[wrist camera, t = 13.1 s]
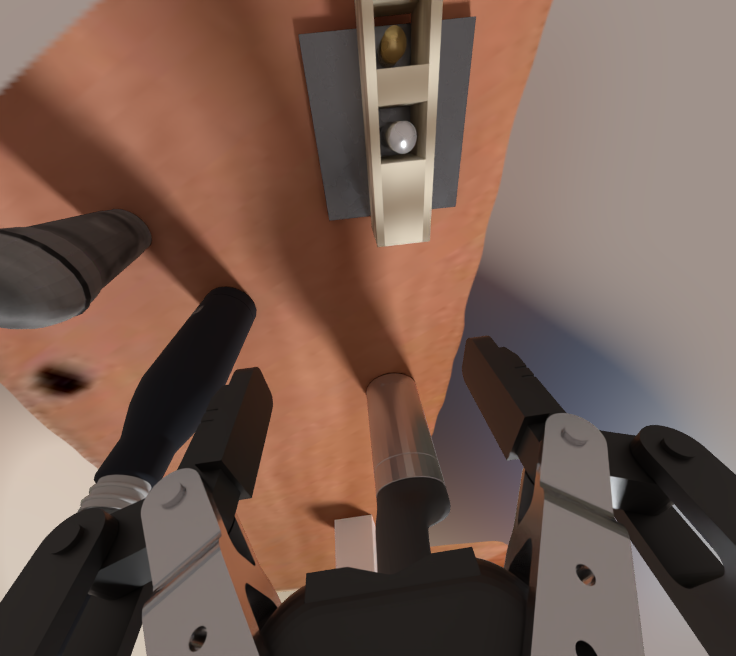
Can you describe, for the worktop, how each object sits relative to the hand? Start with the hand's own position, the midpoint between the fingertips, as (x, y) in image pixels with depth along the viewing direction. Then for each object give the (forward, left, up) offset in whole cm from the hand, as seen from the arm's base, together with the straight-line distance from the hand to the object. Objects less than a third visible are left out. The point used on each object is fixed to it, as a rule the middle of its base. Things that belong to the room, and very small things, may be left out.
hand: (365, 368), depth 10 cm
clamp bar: (+7, -5, -23) cm, 25 cm away
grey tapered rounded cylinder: (0, +24, -25) cm, 35 cm away
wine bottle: (-11, +17, -25) cm, 32 cm away
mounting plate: (+6, -5, -24) cm, 26 cm away
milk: (-98, +10, -25) cm, 101 cm away
